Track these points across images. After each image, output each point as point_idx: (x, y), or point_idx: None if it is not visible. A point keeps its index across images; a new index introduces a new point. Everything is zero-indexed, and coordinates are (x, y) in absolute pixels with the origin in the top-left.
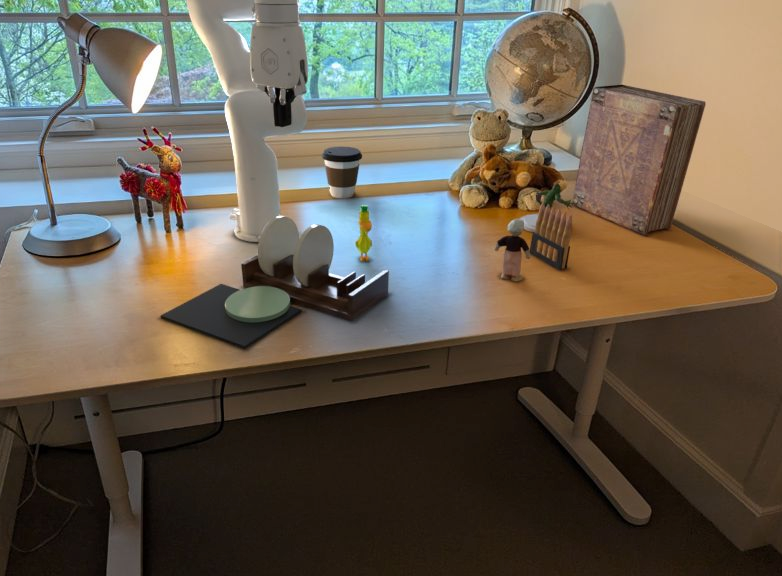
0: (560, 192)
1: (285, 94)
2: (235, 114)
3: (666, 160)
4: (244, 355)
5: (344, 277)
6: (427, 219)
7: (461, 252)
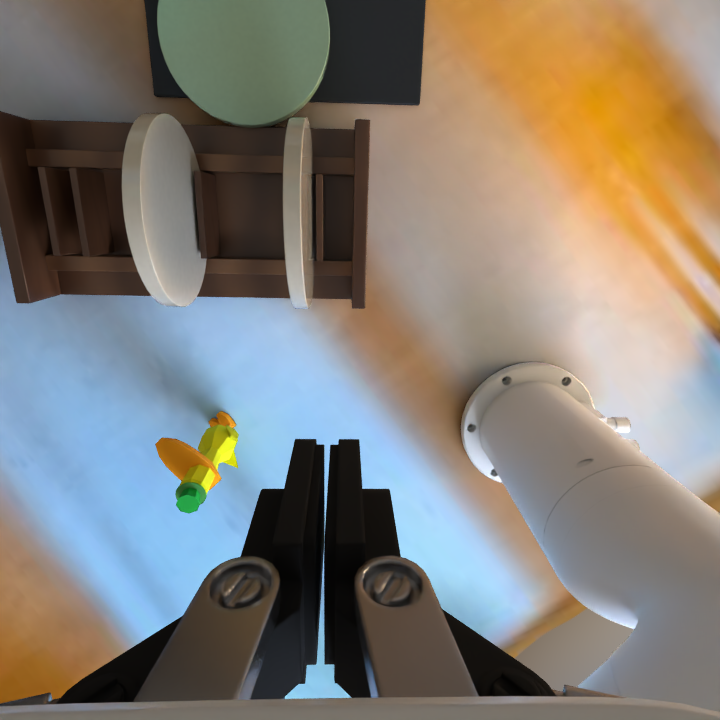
0: None
1: (157, 665)
2: None
3: None
4: None
5: (81, 207)
6: None
7: (77, 558)
